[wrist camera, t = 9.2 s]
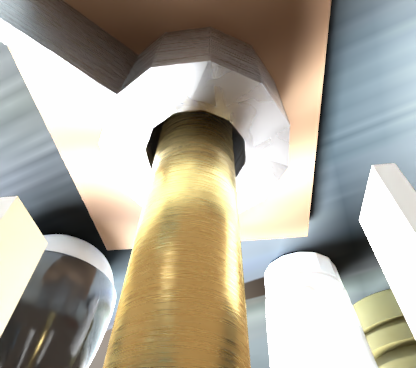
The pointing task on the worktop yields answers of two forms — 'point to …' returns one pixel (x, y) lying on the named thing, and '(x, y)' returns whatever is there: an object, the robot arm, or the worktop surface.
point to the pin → (185, 257)
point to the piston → (387, 330)
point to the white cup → (312, 316)
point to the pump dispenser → (61, 308)
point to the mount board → (96, 114)
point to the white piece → (158, 90)
